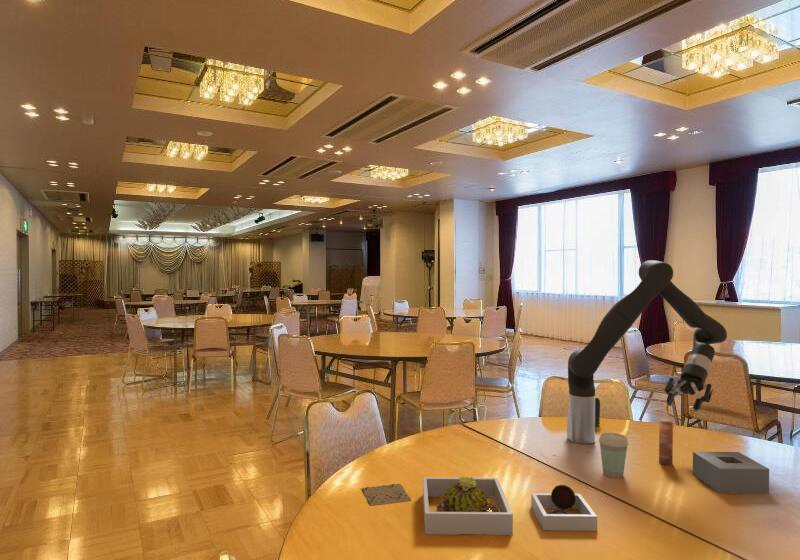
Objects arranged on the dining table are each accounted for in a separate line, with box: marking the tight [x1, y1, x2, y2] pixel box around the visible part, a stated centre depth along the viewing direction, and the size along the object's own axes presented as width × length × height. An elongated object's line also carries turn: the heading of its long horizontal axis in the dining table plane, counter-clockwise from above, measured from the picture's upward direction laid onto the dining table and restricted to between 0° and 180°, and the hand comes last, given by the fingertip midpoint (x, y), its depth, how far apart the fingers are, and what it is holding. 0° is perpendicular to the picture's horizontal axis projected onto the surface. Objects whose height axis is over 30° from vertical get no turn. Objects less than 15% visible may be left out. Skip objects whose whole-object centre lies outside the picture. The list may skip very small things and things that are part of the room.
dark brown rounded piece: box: [548, 484, 576, 514], centre depth 134 cm, size 8×8×7 cm
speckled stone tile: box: [361, 483, 412, 507], centre depth 148 cm, size 12×12×1 cm
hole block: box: [692, 451, 770, 494], centre depth 156 cm, size 14×14×7 cm
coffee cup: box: [598, 432, 629, 479], centre depth 163 cm, size 8×9×12 cm
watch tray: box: [530, 492, 598, 532], centre depth 134 cm, size 13×13×4 cm
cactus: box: [435, 476, 500, 512], centre depth 136 cm, size 17×16×10 cm
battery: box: [595, 396, 601, 426], centre depth 216 cm, size 7×4×11 cm, turn 106°
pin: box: [658, 418, 674, 466], centre depth 172 cm, size 4×4×14 cm
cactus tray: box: [422, 476, 514, 536], centre depth 137 cm, size 21×22×5 cm
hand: (681, 407), depth 179 cm, fingers open, 8 cm apart
